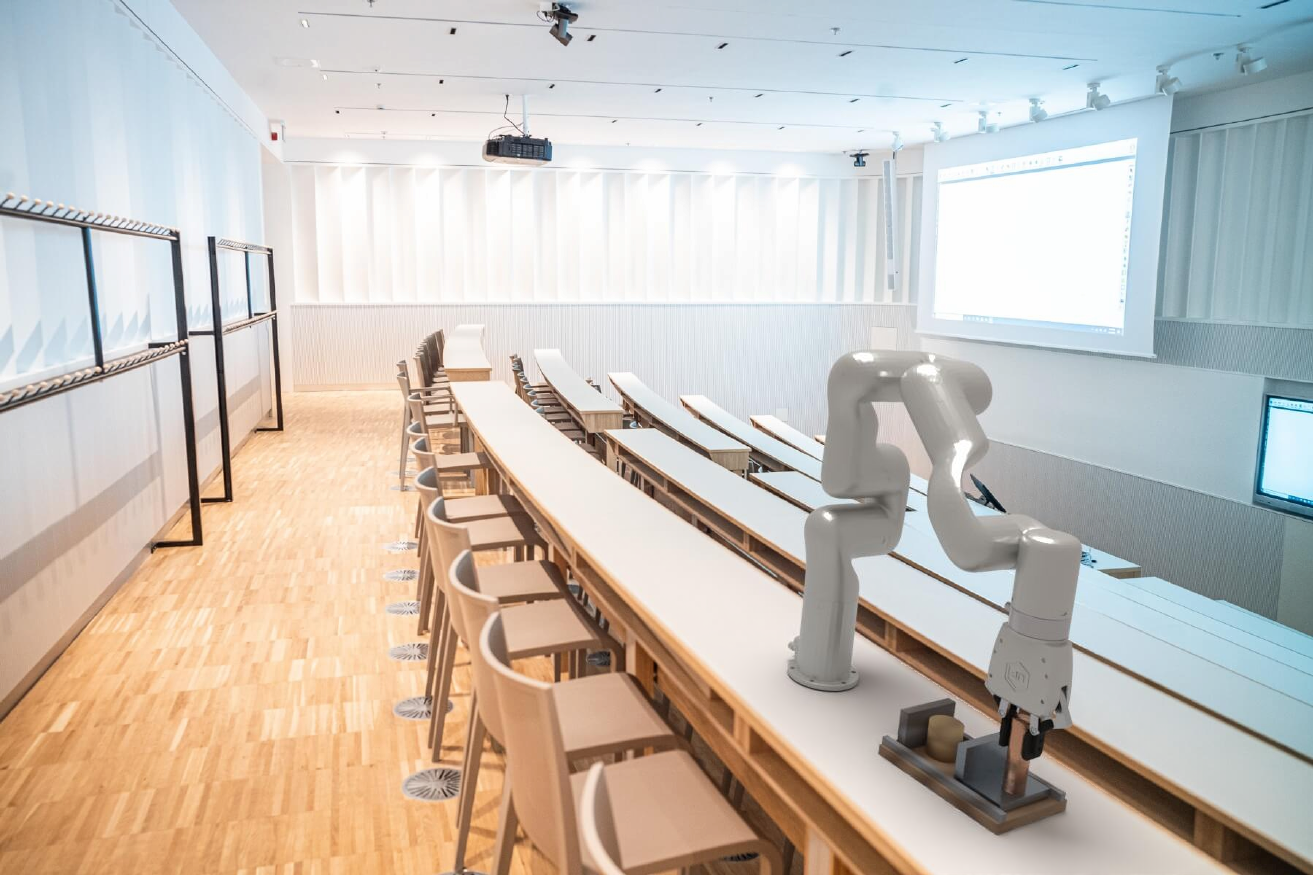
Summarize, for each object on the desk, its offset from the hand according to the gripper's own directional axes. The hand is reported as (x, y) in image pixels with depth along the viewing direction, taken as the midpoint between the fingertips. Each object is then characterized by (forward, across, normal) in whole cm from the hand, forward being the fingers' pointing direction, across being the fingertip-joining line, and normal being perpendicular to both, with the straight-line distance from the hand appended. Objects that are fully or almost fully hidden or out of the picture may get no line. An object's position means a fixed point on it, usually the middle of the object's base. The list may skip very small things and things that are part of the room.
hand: (1019, 749), depth 124 cm
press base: (+9, -8, 0) cm, 12 cm away
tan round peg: (+7, -12, 0) cm, 14 cm away
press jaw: (+7, -2, 0) cm, 7 cm away
